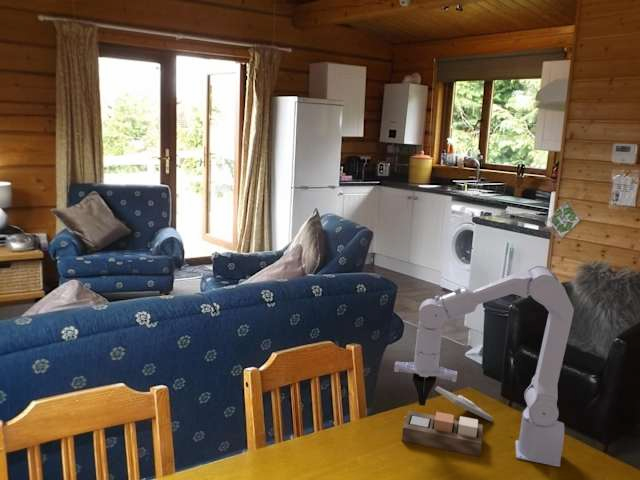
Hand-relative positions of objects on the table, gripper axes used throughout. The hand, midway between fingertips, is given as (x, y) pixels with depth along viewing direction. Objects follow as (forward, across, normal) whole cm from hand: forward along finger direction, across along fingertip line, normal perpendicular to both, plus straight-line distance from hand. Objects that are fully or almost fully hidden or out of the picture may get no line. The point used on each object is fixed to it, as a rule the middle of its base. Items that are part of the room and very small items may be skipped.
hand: (422, 403), depth 144 cm
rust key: (+5, +6, 0) cm, 8 cm away
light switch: (+8, +10, +13) cm, 19 cm away
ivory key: (+5, +11, 0) cm, 12 cm away
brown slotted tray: (+8, +6, 0) cm, 10 cm away
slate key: (+8, 0, 0) cm, 8 cm away
